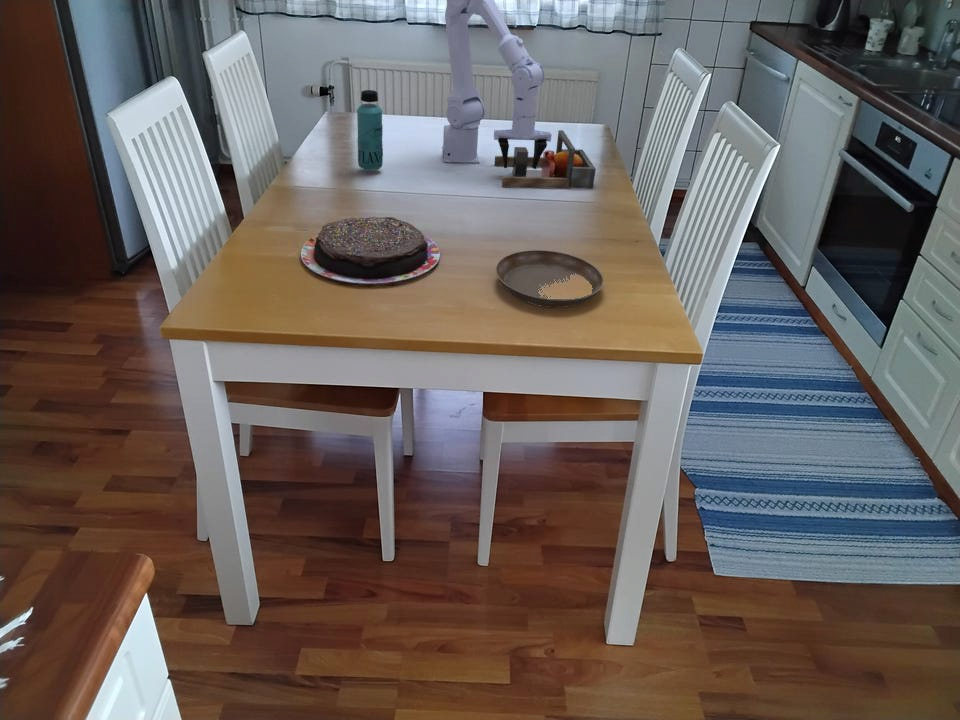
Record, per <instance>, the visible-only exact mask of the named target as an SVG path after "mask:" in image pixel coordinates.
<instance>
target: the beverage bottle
mask: <svg viewBox="0 0 960 720" xmlns="http://www.w3.org/2000/svg"><path fill="white" fill-rule="evenodd" d="M360 94H361V95H360V101H362V102H366V103H363V104H361V105H359V106H358V107H357V109H356V114H357V115H356V117H357V118H356V121H357V139H356V140H357V142H356V144H357V165H358V167H359V168H361V169H363V170H369V171H372V170H379V169H381V168H383V164H384V161H383V159H384V158H383V157H384V149H383V145H384V144H383V109H382V108H381V107H380V106H379V105H378V104H375V103H376V102H378V101H379V96H378V92H377V91H376V90H373V89H372V90H370V89H365V90H362V91H361V93H360Z"/></svg>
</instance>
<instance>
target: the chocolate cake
mask: <svg viewBox="0 0 960 720" xmlns="http://www.w3.org/2000/svg"><path fill="white" fill-rule="evenodd" d="M440 258H441V251H440V248H439V245H437V244H436V242H435V241H433V239H431V238H429V237H427V236H426V235H424V234H423V233H422V231H421V230H419V229H418V228H417V227H415V226H414V225H413V224H411V223H409V222H406V221H405V220H401V219H400V218H399V219H398V218H397V217H392V216H389V217H388V216H385V217H384V216H383V217H378V216H377V217H376V216H370V217H349V218H345V219H341V220H339V221H334V222H327V223H326V224H323V225H322V227H321V230H320V231H319V233H318V234H316V235H315V236H313V237H311V238H310V239H308V240H307V241H306V242H305V243H304V244H303V246H302V247H301V249H300V260H301V261H302V263H303V264H304V265H305V267H306V268H307V269H308V270H309V271H310V272H312V273H313V274H316V275H318V276H319V277H322V278H324V279H326V280H328V281H330V282H334V283H337V284H340V285H348V284H353V285H357V286H361V287H363V288H366V287H367V288H371V287H375V286H377V285H383V286H389V287H394V286H396V285H398V284H401V282H402V283H405V281H406V282H408V281H411V280H413V279H417V278H418V277H420V276H422V275H424V274H427V273H429V272H430V271H431V270H433V269H435V268H436V267H435V266H437V264H438V263H439V262H440Z"/></svg>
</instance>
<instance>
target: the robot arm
mask: <svg viewBox="0 0 960 720" xmlns="http://www.w3.org/2000/svg"><path fill="white" fill-rule="evenodd" d="M473 15H476V16H480V17H481V18H482V20H483V21H484V23H485V24H486V25H487V27H488V28H489V30H490V31H491V33H492V34H493V35H494V37H495V39H496V40H497V41H498V43H499V44H498V52H499V54H500V55H501V57H502V59H503V61H504V62H505V64H506V65H507V67H508V69H509V71H510V73H511V76H510V81H511V84H512V86H513V90H514V91H513V95H514V101H513V113H512V125H511V128H510V129H509V128H508V129H499V130H498V129H494V131H493V139H494V140H495V141H497V142H498V145H499V147H500V152H501V156H503V166H502V167H503V169H508V166H507V158H508V156H509V147H510V144H509V141H510V140H511V141H534V146H533V147H534V148H533V156H532V157H533V163H532V167H531V168H532V170H537V168H538V167H537V164H538V161H539V159H540V157H542V155H543V153H544V152H545V151H546V148H547V146H548V142H552V132H550V131H545V130H543V131H542V130H535V128H536V119H537V110H538V109H537V108H538V99H539V98H538V97H539V89H540V86H541V85H542V84H543V83H544V80H545V71H544V69H543V65H542V64H540V62H536V61H535V60H534V59H533V57H532V56H530V54H529V52H528V50H527V48H526V47H525V46H524V41H523V39H522V38H520V37H519V36H518V35H515V34H512V33H511V32H510V29H509V26H508V25H507V24H506V22H505V20H504V17H503V16H502V14H501V11H500V10H499V7H498V5H497V4H496V2H495V0H446V7H445V12H444V19H445V21H444V22H445V27H446V30H445V31H446V36H447V38H446V39H447V46H448V53H449V54H448V55H449V61H450V62H449V65H450V71H451V80H452V81H451V82H452V91H451V92H450V93H449V95H448V97H447V99H446V100H447V106H446V111H445V113H446V118H447V119H446V120H447V121H448V123H449V124H446V125H444V126H443V136H442V137H443V140H442V141H443V142H442V144H443V145H442V147H441V148H442V151H441V153H442V156H443V161H444V162H445V163H466V164H470V163H471V164H479V163H480V158H479V156H478V140H479V126H480V125H481V121H482V120H483V119H484V118H485V115H486V108H485V104H484V102H483V100H482V99H483V98H482V94H481V91H479V90H478V88H476V87H475V83H474V72H473V63H472V55H471V53H472V52H471V45H470V43H471V42H470V36H469V35H470V34H469V33H470V31H469V26H468V22H469V21H470V19H471V17H472V16H473Z"/></svg>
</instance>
